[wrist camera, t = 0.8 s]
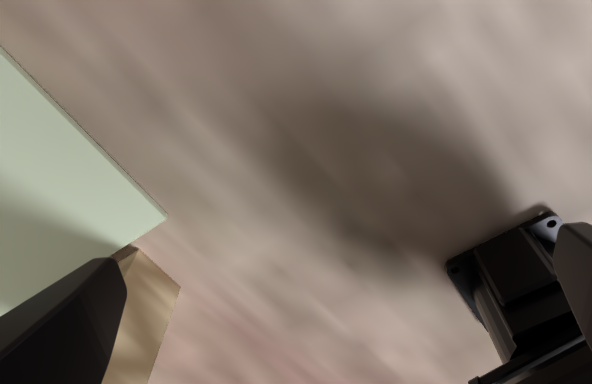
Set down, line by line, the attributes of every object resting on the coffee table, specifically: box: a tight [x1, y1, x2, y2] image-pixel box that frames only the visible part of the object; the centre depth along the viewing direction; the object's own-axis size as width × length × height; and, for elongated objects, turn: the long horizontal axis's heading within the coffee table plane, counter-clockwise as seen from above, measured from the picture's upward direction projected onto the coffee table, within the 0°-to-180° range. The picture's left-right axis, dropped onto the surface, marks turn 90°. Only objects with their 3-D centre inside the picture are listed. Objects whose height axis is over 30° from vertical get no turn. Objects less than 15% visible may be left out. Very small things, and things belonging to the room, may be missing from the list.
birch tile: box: [101, 249, 181, 384], centre depth 23 cm, size 4×8×12 cm, turn 125°
